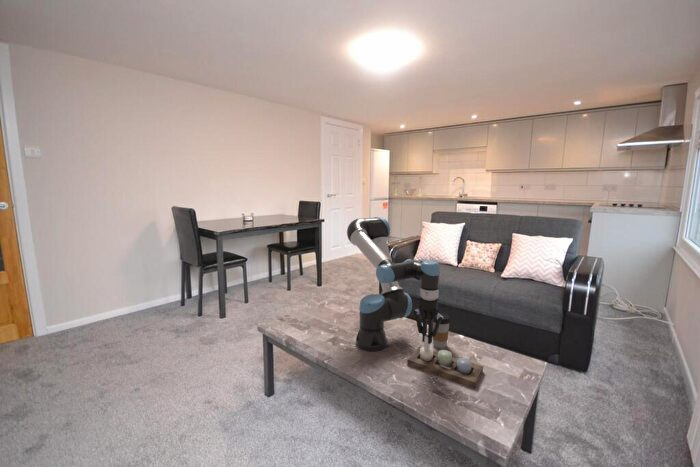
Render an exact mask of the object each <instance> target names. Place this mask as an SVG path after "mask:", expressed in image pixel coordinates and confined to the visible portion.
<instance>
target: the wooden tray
mask: <svg viewBox="0 0 700 467" xmlns="http://www.w3.org/2000/svg"><path fill="white" fill-rule="evenodd" d="M421 347H422V346H418V347H417V348H416V349H415V350H414V352H413V353H412V354H410V356H409V357H408V359H407V360H406V361H407V366H410V367H413V368H415V369H418V370H421V371H425V372H426V373H430V374H433V375H436V376H439V377H442V378H444V379H446V380H449V381H453V382H456V383H458V384H460V385H464V386H467V387H469V388H472V389H476V387H477V384H478V383H479V380H480V378H481V376H482V374H483V370H484V365H480V364H476V363H473V362H472V365H471V373H470V374H468V375H466V374H463V373H460V372H458V371H457V360H458V359H459V358H457V357H454V356H452V362H451V365H449V366H450V368H448V367H446V366H443V365H440V364H439V363H438V352H439V351H435V350H433V360H432V361H431V362H427V361H424V360H421V359H420V348H421Z"/></svg>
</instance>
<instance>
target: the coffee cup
mask: <svg viewBox="0 0 700 467" xmlns="http://www.w3.org/2000/svg"><path fill="white" fill-rule="evenodd" d="M439 314H440V315H441V316H442V315H443V316H444V318H443V319H442V320H441V323H440V326H439V329H438V332H437V335H436V336H435V337H432V345H433V346H434V347H435V348H437V349H441V350H443V349H445V348H446V347H447V345H448V339H449V332H450V324H451V318H450V316H449V314H447V313H443V312H439ZM437 320H438V319H437V316H436V317H435V318H434V320H433V331H434V328H435V325H436V322H437Z"/></svg>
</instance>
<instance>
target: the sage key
mask: <svg viewBox="0 0 700 467" xmlns="http://www.w3.org/2000/svg"><path fill="white" fill-rule="evenodd" d="M437 352H438V365H440V366H442V367H448V366H449V365H451V362H452V357H453V354H452V352H451V351H449V350H446V349H441V350H438V351H437Z"/></svg>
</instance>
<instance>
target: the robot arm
mask: <svg viewBox="0 0 700 467" xmlns="http://www.w3.org/2000/svg"><path fill="white" fill-rule="evenodd" d="M346 235H347V239H348V241H349V242H350V243H351V244H352V246H356V247H357V248H358V249H359V251H360V252H361V253H362V254H363V256H364V257H365V258H366V259H367V260H368V261H369V262H370V264H371V265H372V266H373V267H374V268H375V275H376V278H377V281H378V282H379V283H380V286H381V289H382V291H381V293H380V294H377V293H372V294H367V295H365V296H363V297H362V298H361V299H360V302H359V307H358V308H359V329H358V331H357V334H356V338H355V345H356V346H357V348H359V349H361V350H363V351H367V352H377V351H381V350H384V349H386V347H387V346H388V337H387V335H386V332H385V329H384V328H385V322H389V321H394V320H398V319H403V318H406V317H408V316H410V315H411V312H412V310H413V303H412V302H413V300H412V298H411V296H410V295H409V293H407V292H405V291H404V288H403V287H401V286H400V284H399V282H401V281H405V280H411V279H413V280H417V281H419V282H420V284H419V285H420V286H419V287H420V288H419V296H420V297H419V306H418V308H416V309H414V311H413V315H414V316H415V321H416V326H417V331H418V333H419V334H421V335H422V340H421V341H422V343H424V344H423V347H424V350H425V351H428V350H429V349H430V348H431V347H430V346H431V344H433V337H435V336H436V335H437V332H438V329H439V326H440V323H441V320H442V319H443V318H444V316H443V315H442V316H441V315H440V314H439V313H440V311H439V309H438V308H439V290H440V288H439V286H440V273H441V270H440V263H439V262H438V261H435V260H429V259H428V260H427V259H426V260H423V261H421V262H419V261H418V260H415V259H412V258H408V259H406V260H404V261H403V262H398V263H397V262H396V263H395V262H393V260H392V256H391V254H390V249H389V247H388V246H389V245H388V243H387V242H388V241H389V237H390V236H391V226H390V223H389V221H388V220H387V219H386V218H384V217H378V216H376V217H374V216H373V217H366V218H365V217H364V218H362V217H361V218H356V219H354V220H352V221H351V222H350V223H349V224H348V226H347V229H346ZM436 316H437V319H438V320H437V322H436V325H435V328H434V331H433V320H434V318H435V317H436Z"/></svg>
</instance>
